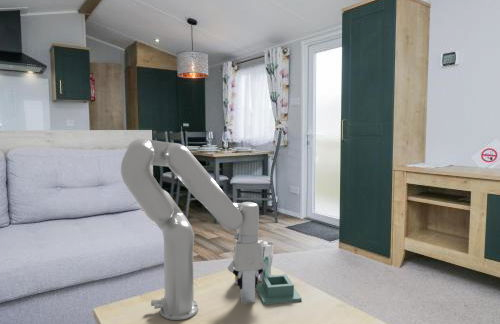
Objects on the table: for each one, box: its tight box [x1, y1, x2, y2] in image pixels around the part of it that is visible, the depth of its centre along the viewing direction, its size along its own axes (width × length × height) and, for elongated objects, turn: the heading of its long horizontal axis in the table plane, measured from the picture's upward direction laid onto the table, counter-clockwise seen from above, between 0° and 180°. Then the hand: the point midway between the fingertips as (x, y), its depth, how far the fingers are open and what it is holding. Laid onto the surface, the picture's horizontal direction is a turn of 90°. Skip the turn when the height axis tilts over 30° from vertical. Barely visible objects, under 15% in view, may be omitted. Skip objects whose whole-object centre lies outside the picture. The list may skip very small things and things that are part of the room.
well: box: [255, 273, 303, 305], centre depth 134 cm, size 14×14×5 cm
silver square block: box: [239, 270, 256, 305], centre depth 128 cm, size 4×4×13 cm
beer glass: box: [258, 240, 274, 283], centre depth 145 cm, size 7×7×15 cm
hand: (247, 286), depth 128 cm, fingers closed on silver square block, 4 cm apart
